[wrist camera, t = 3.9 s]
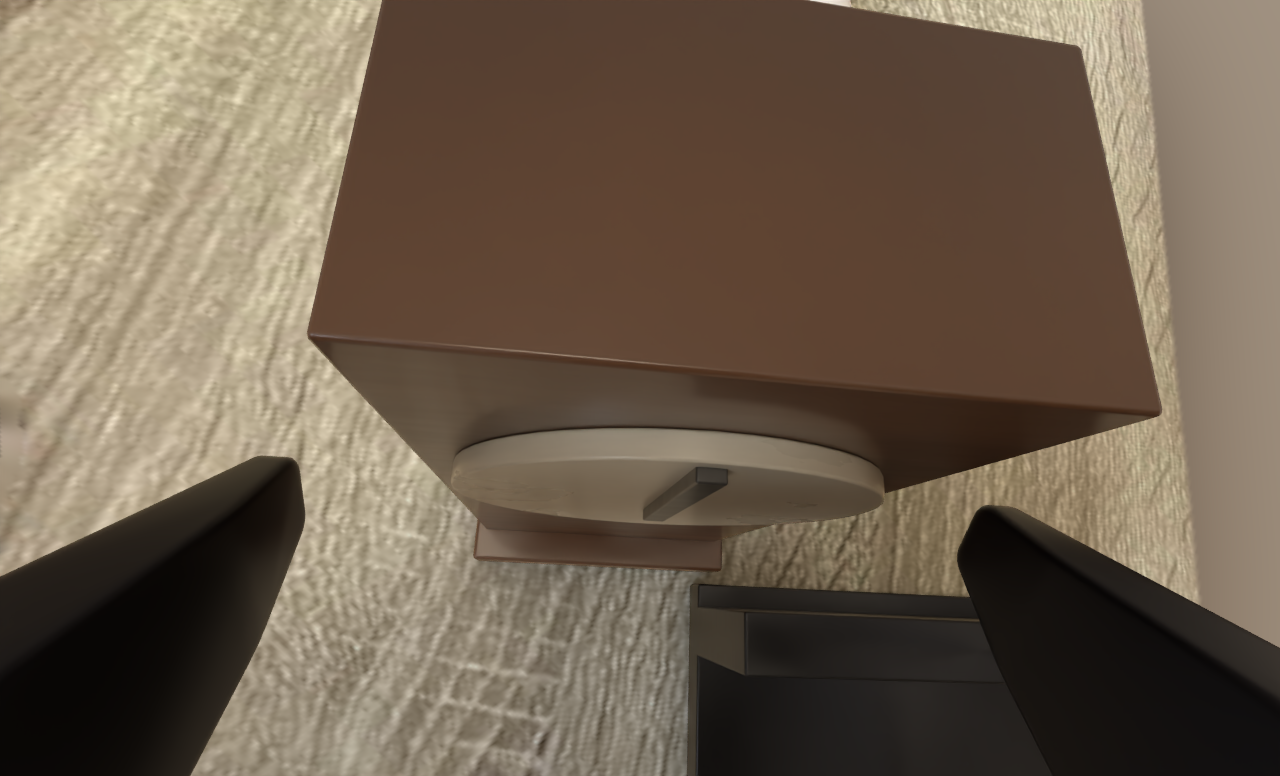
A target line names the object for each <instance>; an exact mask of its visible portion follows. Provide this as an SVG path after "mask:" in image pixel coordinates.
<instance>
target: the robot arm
mask: <svg viewBox="0 0 1280 776" xmlns="http://www.w3.org/2000/svg"><path fill="white" fill-rule="evenodd" d="M304 523H305V506H304V499H303V491H302V484H301V476H300V470H299V466H298V464H297V462H296V461H295V460H294V459H292V458H289V457H275V456H257V457H254V458H252V459H250V460H248V461H246V462H243V463H241V464H239V465H237V466H235V467H233V468H231V469H229V470H226V471H224V472H222V473H220V474H218V475H216V476H214V477H212V478H209V479H207V480H205V481H203V482H201V483H199V484H197V485H195V486H192V487H190V488H188V489H186V490H184V491H182V492H180V493H177V494H175V495H173V496H171V497H169V498H167V499H165V500H163V501H160V502H158V503H156V504H154V505H152V506H150V507H148V508H146V509H143V510H141V511H139V512H137V513H135V514H133V515H131V516H128V517H126V518H124V519H122V520H120V521H118V522H116V523H114V524H111V525H109V526H107V527H105V528H103V529H101V530H99V531H97V532H94V533H92V534H90V535H88V536H86V537H84V538H82V539H79V540H77V541H75V542H73V543H71V544H69V545H67V546H65V547H62V548H60V549H58V550H56V551H54V552H52V553H50V554H48V555H45V556H43V557H41V558H39V559H37V560H35V561H33V562H30V563H28V564H26V565H24V566H22V567H20V568H18V569H16V570H13V571H11V572H9V573H7V574H5V575H3V576H1V577H0V776H190V775H191V773H192V771H193V769H194V768H195V766H196V764H197V762H198V760H199V758H200V756H201V754H202V752H203V750H204V748H205V747H206V745H207V743H208V741H209V739H210V737H211V735H212V733H213V731H214V729H215V727H216V726H217V724H218V722H219V720H220V718H221V716H222V714H223V712H224V710H225V708H226V706H227V705H228V703H229V701H230V699H231V697H232V695H233V693H234V691H235V689H236V687H237V685H238V684H239V682H240V680H241V678H242V676H243V674H244V672H245V670H246V668H247V666H248V664H249V662H250V660H251V658H252V656H253V654H254V652H255V650H256V648H257V646H258V644H259V642H260V639H261V637H262V634H263V632H264V630H265V627H266V625H267V622H268V620H269V617H270V614H271V612H272V609H273V607H274V604H275V601H276V599H277V596H278V594H279V591H280V589H281V586H282V583H283V581H284V578H285V576H286V573H287V570H288V568H289V565H290V563H291V560H292V557H293V555H294V552H295V550H296V547H297V545H298V542H299V539H300V537H301V534H302V531H303V528H304ZM957 562H958V567H959V570H960V573H961V575H962V578H963V580H964V583H965V586H966V588H967V591H968V593H969V596H970V598H971V601H972V603H973V606H974V608H975V611H976V613H977V616H978V618H979V621H980V624H981V626H982V629H983V631H984V634H985V636H986V639H987V641H988V644H989V646H990V649H991V651H992V654H993V656H994V659H995V661H996V663H997V666H998V668H999V670H1000V672H1001V674H1002V677H1003V679H1004V681H1005V683H1006V685H1007V687H1008V689H1009V691H1010V693H1011V695H1012V697H1013V699H1014V701H1015V703H1016V705H1017V707H1018V709H1019V711H1020V713H1021V715H1022V717H1023V719H1024V721H1025V723H1026V725H1027V726H1028V728H1029V730H1030V732H1031V734H1032V736H1033V738H1034V740H1035V742H1036V744H1037V746H1038V748H1039V750H1040V752H1041V754H1042V756H1043V758H1044V760H1045V762H1046V764H1047V766H1048V768H1049V770H1050V772H1051V774H1052V776H1280V648H1279V647H1277V646H1275V645H1273V644H1271V643H1270V642H1268V641H1265V640H1264V639H1262V638H1260V637H1258V636H1256V635H1254V634H1252V633H1251V632H1248V631H1247V630H1245V629H1243V628H1241V627H1239V626H1237V625H1235V624H1234V623H1232V622H1230V621H1228V620H1226V619H1224V618H1222V617H1220V616H1218V615H1216V614H1215V613H1213V612H1211V611H1209V610H1207V609H1205V608H1203V607H1201V606H1200V605H1198V604H1196V603H1194V602H1192V601H1190V600H1188V599H1186V598H1184V597H1183V596H1181V595H1179V594H1177V593H1175V592H1173V591H1171V590H1169V589H1167V588H1166V587H1164V586H1162V585H1160V584H1158V583H1156V582H1154V581H1152V580H1150V579H1149V578H1147V577H1145V576H1143V575H1141V574H1139V573H1137V572H1135V571H1133V570H1132V569H1130V568H1128V567H1126V566H1124V565H1122V564H1120V563H1118V562H1116V561H1114V560H1113V559H1111V558H1109V557H1107V556H1105V555H1103V554H1101V553H1099V552H1097V551H1096V550H1094V549H1092V548H1090V547H1088V546H1086V545H1084V544H1082V543H1080V542H1079V541H1077V540H1075V539H1073V538H1071V537H1069V536H1067V535H1065V534H1063V533H1062V532H1060V531H1058V530H1056V529H1054V528H1052V527H1050V526H1048V525H1046V524H1045V523H1043V522H1041V521H1039V520H1037V519H1035V518H1033V517H1031V516H1029V515H1028V514H1026V513H1024V512H1022V511H1020V510H1018V509H1016V508H1013V507H1009V506H994V505H986V506H983V507H981V508H980V509H978V510H977V512H976V513H975V515H974V517H973V519H972V521H971V523H970V526H969V528H968V530H967V532H966V534H965V536H964V538H963V540H962V543H961V545H960V547H959V549H958V554H957Z"/></svg>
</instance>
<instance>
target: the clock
mask: <svg viewBox="0 0 1280 776" xmlns="http://www.w3.org/2000/svg"><path fill="white" fill-rule="evenodd" d="M307 335H308V339H309V340H310V341H311V342H312V343H313V344H314V345H315V346H316V347H317V348H318V350H319V351H320V352H321V353H322V354H323V355H324V356H325V357H326V358H327V359H328V360H329V361H330V362H331V363H332V364H333V365H334V367H335V368H336V369H337V370H338V371H339V372H340V373H341V374H342V375H343V376H344V377H345V378H346V379H347V380H348V381H349V383H350V384H351V385H352V386H353V387H354V388H355V389H356V390H357V391H358V392H359V393H360V394H361V395H362V396H363V397H364V398H365V400H366V401H367V402H368V403H369V404H370V405H371V406H372V407H373V408H374V409H375V410H376V411H377V412H378V413H379V414H380V416H381V417H382V418H383V419H384V420H385V421H386V422H387V423H388V424H389V425H390V426H391V427H392V428H393V429H394V430H395V432H396V433H397V434H398V435H399V436H400V437H401V438H402V439H403V440H404V441H405V442H406V443H407V444H408V445H409V446H410V447H411V449H412V450H413V451H414V452H415V453H416V454H417V455H418V456H419V457H420V458H421V459H422V460H423V461H424V462H425V463H426V465H427V466H428V467H429V468H430V469H431V470H432V471H433V472H434V473H435V474H436V475H437V476H438V477H439V478H440V479H441V480H442V482H443V483H444V484H445V485H446V486H447V487H448V488H449V489H450V490H451V491H452V492H453V493H454V494H455V495H456V496H457V498H458V499H459V500H460V501H461V502H462V503H463V504H464V505H465V506H466V507H467V508H468V509H469V510H470V511H471V512H472V513H473V515H474V516H475V517H476V518H477V519H478V520H477V528H476V536H475V545H474V553H473V556H474V558H475V559H477V560H479V561H497V562H517V563H537V564H557V565H577V566H596V567H616V568H636V569H656V570H676V571H695V572H718V571H721V569H722V539H724V538H728V537H731V536H735V535H738V534H742V533H745V532H749V531H753V530H756V529H760V528H763V527H767V526H770V525H774V524H789V523H802V522H814V521H823V520H831V519H838V518H844V517H849V516H854V515H858V514H862V513H865V512H868V511H871V510H873V509H876V508H878V507H879V506H880V505H882V504H883V502H884V498H885V493H888V492H891V491H895V490H898V489H902V488H905V487H909V486H913V485H916V484H920V483H923V482H927V481H930V480H934V479H937V478H941V477H945V476H948V475H952V474H955V473H959V472H962V471H966V470H969V469H973V468H977V467H980V466H984V465H987V464H991V463H994V462H998V461H1001V460H1005V459H1009V458H1012V457H1016V456H1019V455H1023V454H1026V453H1030V452H1033V451H1037V450H1041V449H1044V448H1048V447H1051V446H1055V445H1058V444H1062V443H1065V442H1069V441H1073V440H1076V439H1080V438H1083V437H1087V436H1090V435H1094V434H1097V433H1101V432H1105V431H1108V430H1112V429H1115V428H1119V427H1122V426H1126V425H1129V424H1133V423H1137V422H1140V421H1144V420H1147V419H1151V418H1154V417H1157V416H1159V415H1160V414H1161V413H1162V407H1161V402H1160V398H1159V393H1158V389H1157V384H1156V380H1155V375H1154V371H1153V367H1152V362H1151V358H1150V353H1149V349H1148V344H1147V340H1146V336H1145V331H1144V327H1143V322H1142V318H1141V313H1140V309H1139V304H1138V300H1137V296H1136V291H1135V287H1134V282H1133V278H1132V273H1131V269H1130V264H1129V260H1128V256H1127V251H1126V247H1125V242H1124V238H1123V233H1122V229H1121V224H1120V220H1119V216H1118V211H1117V207H1116V202H1115V198H1114V193H1113V189H1112V185H1111V180H1110V176H1109V171H1108V167H1107V162H1106V158H1105V153H1104V149H1103V145H1102V140H1101V136H1100V131H1099V127H1098V122H1097V118H1096V113H1095V109H1094V105H1093V100H1092V96H1091V91H1090V87H1089V82H1088V78H1087V74H1086V69H1085V65H1084V60H1083V56H1082V51H1081V49H1080V48H1079V47H1078V46H1076V45H1070V44H1064V43H1058V42H1052V41H1046V40H1040V39H1034V38H1029V37H1023V36H1017V35H1011V34H1005V33H999V32H993V31H988V30H982V29H976V28H970V27H964V26H958V25H952V24H946V23H941V22H935V21H929V20H923V19H917V18H911V17H905V16H900V15H894V14H888V13H882V12H876V11H870V10H864V9H858V8H853V7H847V6H841V5H835V4H829V3H823V2H817V1H812V0H382V4H381V8H380V13H379V17H378V21H377V26H376V30H375V35H374V39H373V44H372V48H371V52H370V57H369V61H368V66H367V70H366V74H365V79H364V83H363V88H362V92H361V97H360V101H359V105H358V110H357V114H356V119H355V123H354V127H353V132H352V136H351V141H350V145H349V150H348V154H347V158H346V163H345V167H344V172H343V176H342V181H341V185H340V189H339V194H338V198H337V203H336V207H335V211H334V216H333V220H332V225H331V229H330V234H329V238H328V242H327V247H326V251H325V256H324V260H323V264H322V269H321V273H320V278H319V282H318V287H317V291H316V295H315V300H314V304H313V309H312V313H311V317H310V322H309V326H308V331H307Z"/></svg>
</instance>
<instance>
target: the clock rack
mask: <svg viewBox="0 0 1280 776" xmlns="http://www.w3.org/2000/svg"><path fill="white" fill-rule="evenodd" d="M687 776H1052V774H1051V772H1050V770H1049V768H1048V766H1047V764H1046V762H1045V760H1044V758H1043V756H1042V754H1041V752H1040V750H1039V748H1038V746H1037V744H1036V742H1035V740H1034V738H1033V736H1032V734H1031V732H1030V730H1029V728H1028V726H1027V725H1026V723H1025V721H1024V719H1023V717H1022V715H1021V713H1020V711H1019V709H1018V707H1017V705H1016V703H1015V701H1014V699H1013V697H1012V695H1011V693H1010V691H1009V689H1008V687H1007V685H1006V683H1005V681H1004V679H1003V677H1002V674H1001V672H1000V670H999V668H998V666H997V663H996V661H995V659H994V656H993V654H992V651H991V649H990V646H989V644H988V641H987V639H986V636H985V634H984V631H983V629H982V626H981V624H980V621H979V618H978V616H977V613H976V611H975V608H974V606H973V603H972V601H971V598H970V597H956V596H935V595H914V594H893V593H873V592H852V591H831V590H810V589H789V588H768V587H748V586H727V585H706V584H692V585H691V586H690V635H689V693H688V751H687Z"/></svg>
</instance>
